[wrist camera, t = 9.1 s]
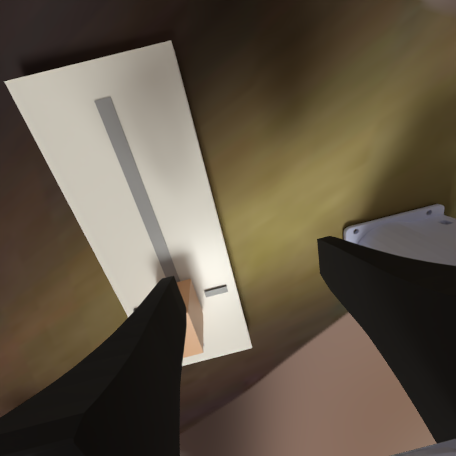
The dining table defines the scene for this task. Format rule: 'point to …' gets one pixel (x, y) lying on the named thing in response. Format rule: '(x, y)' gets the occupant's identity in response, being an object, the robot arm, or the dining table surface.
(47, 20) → the dining table surface
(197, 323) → the fader tab
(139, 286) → the panel
